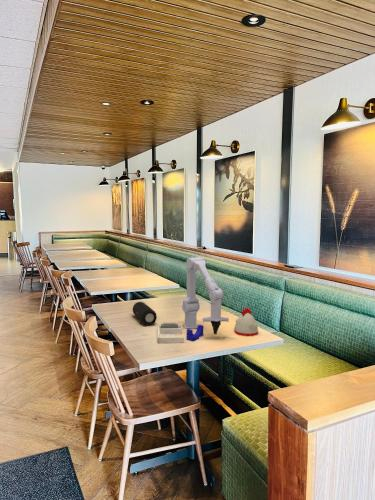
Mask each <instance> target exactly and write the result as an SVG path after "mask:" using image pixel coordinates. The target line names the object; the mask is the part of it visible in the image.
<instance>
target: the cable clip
mask: <svg viewBox="0 0 375 500" xmlns="http://www.w3.org/2000/svg"><path fill="white" fill-rule="evenodd" d="M197 327H198V328H196V331H195V333H194V332H193V329H191V328H186V338H185V339H186V340H187V341H188V342H189V341H190V342H195V341H197V340H199V339H200V337H203V336H204V331H205V330H204V329H205V327H204V325H203V324H198V325H197Z"/></svg>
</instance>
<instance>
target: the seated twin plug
mask: <svg viewBox="0 0 375 500" xmlns="http://www.w3.org/2000/svg"><path fill="white" fill-rule="evenodd" d="M178 325H179V323H176V322H163V323H161V324H160V326H161V328H178Z"/></svg>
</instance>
